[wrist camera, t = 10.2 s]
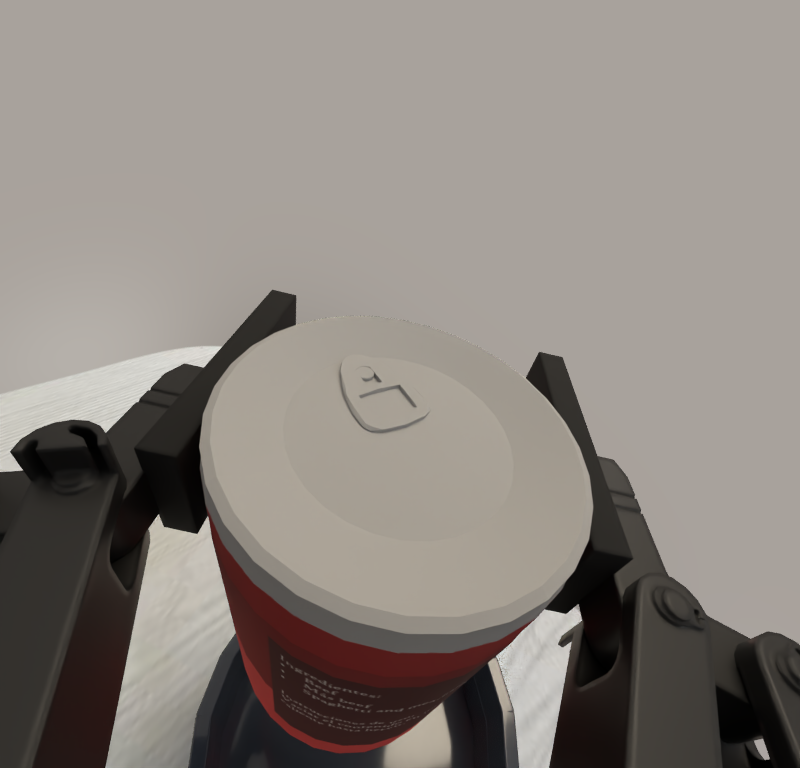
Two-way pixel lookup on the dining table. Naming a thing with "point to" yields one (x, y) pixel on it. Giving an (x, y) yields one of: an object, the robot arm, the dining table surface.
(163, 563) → the dining table surface
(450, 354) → the canned food
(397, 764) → the dark grey round dish
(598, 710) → the robot arm
